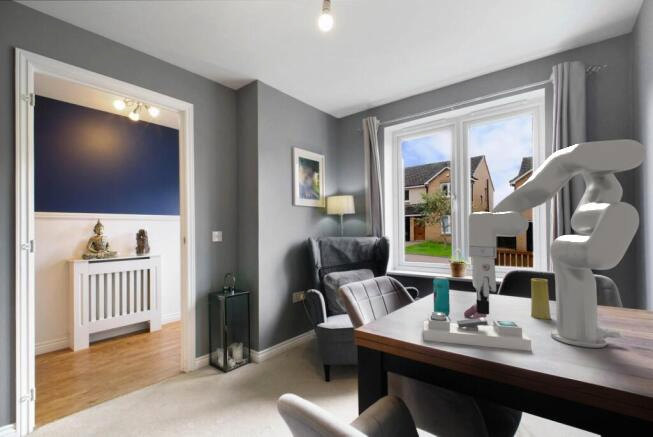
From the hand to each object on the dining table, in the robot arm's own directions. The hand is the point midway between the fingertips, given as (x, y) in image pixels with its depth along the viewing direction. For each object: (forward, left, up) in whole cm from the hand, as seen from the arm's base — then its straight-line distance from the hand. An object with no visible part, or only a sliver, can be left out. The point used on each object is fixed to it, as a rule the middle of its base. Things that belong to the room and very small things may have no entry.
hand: (482, 313), depth 89 cm
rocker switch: (+3, 0, -3) cm, 4 cm away
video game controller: (-1, -22, -9) cm, 23 cm away
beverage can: (+10, -24, -8) cm, 27 cm away
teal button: (-6, 0, -5) cm, 8 cm away
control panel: (+3, 0, -8) cm, 9 cm away
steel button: (+13, 0, -4) cm, 13 cm away
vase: (-26, -33, -8) cm, 43 cm away
